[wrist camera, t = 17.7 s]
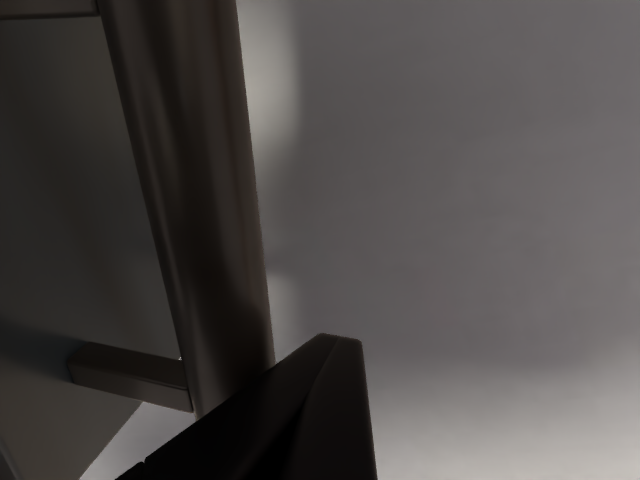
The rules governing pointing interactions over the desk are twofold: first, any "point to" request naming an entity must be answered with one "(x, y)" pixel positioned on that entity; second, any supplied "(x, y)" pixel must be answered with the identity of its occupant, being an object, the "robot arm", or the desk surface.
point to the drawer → (122, 223)
